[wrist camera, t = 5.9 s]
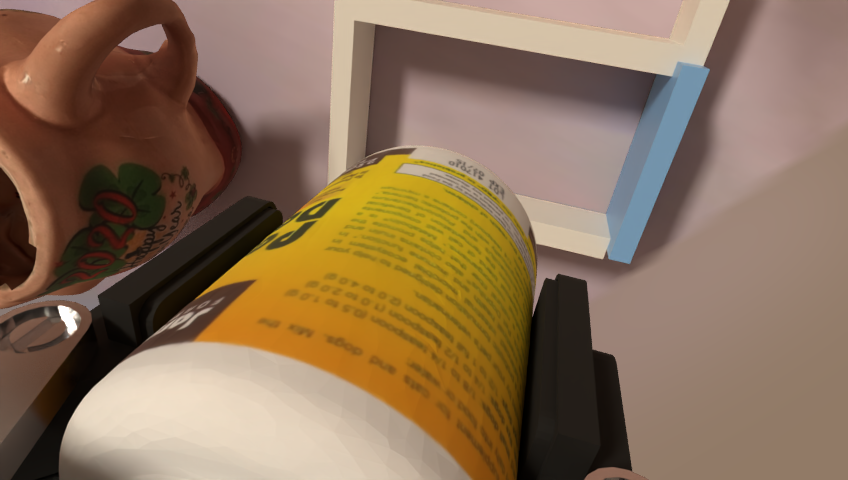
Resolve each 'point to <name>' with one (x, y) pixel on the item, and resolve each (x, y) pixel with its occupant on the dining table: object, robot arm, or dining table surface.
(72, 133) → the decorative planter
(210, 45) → the dining table surface
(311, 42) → the dining table surface
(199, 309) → the supplement bottle
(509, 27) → the white divided tray
